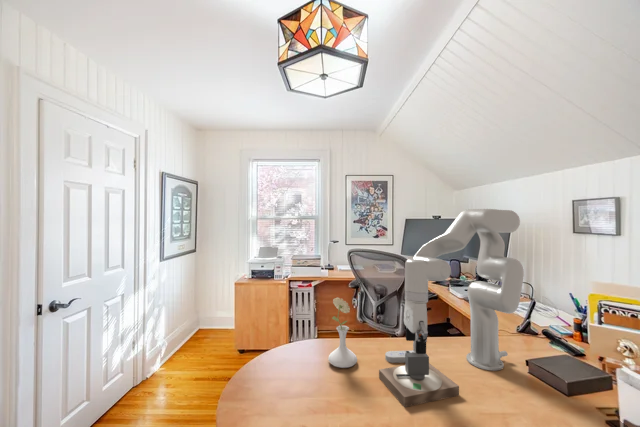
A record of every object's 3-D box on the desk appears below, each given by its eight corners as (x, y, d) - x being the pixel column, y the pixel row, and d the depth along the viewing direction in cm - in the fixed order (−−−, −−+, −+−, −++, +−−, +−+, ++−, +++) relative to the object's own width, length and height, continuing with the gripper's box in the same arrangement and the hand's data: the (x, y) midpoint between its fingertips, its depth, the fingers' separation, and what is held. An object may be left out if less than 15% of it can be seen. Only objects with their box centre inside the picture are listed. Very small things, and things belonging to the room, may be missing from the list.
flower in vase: (363, 366, 108) (362, 301, 108) (337, 374, 103) (337, 305, 103) (345, 352, 119) (345, 293, 120) (321, 357, 114) (321, 296, 115)
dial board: (427, 369, 106) (427, 360, 106) (459, 395, 90) (459, 385, 90) (379, 377, 100) (379, 368, 100) (404, 407, 85) (404, 396, 85)
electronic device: (383, 333, 116) (419, 332, 116) (384, 357, 116) (420, 356, 116) (386, 339, 111) (424, 338, 111) (387, 364, 111) (425, 363, 110)
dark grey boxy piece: (424, 371, 98) (424, 351, 98) (430, 380, 93) (430, 358, 93) (394, 372, 98) (394, 351, 98) (398, 380, 93) (398, 358, 93)
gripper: (397, 289, 104) (396, 335, 104) (414, 303, 87) (413, 359, 86) (417, 289, 104) (417, 336, 104) (438, 303, 87) (437, 359, 86)
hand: (415, 346), depth 95 cm, fingers open, 9 cm apart
